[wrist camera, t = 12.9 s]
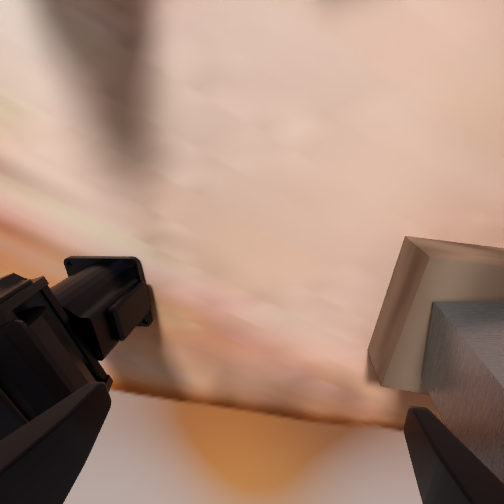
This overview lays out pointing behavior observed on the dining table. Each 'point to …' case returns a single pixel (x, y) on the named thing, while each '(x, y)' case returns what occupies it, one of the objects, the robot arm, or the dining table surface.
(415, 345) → the walnut block
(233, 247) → the dining table surface
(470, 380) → the slate tin
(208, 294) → the dining table surface
